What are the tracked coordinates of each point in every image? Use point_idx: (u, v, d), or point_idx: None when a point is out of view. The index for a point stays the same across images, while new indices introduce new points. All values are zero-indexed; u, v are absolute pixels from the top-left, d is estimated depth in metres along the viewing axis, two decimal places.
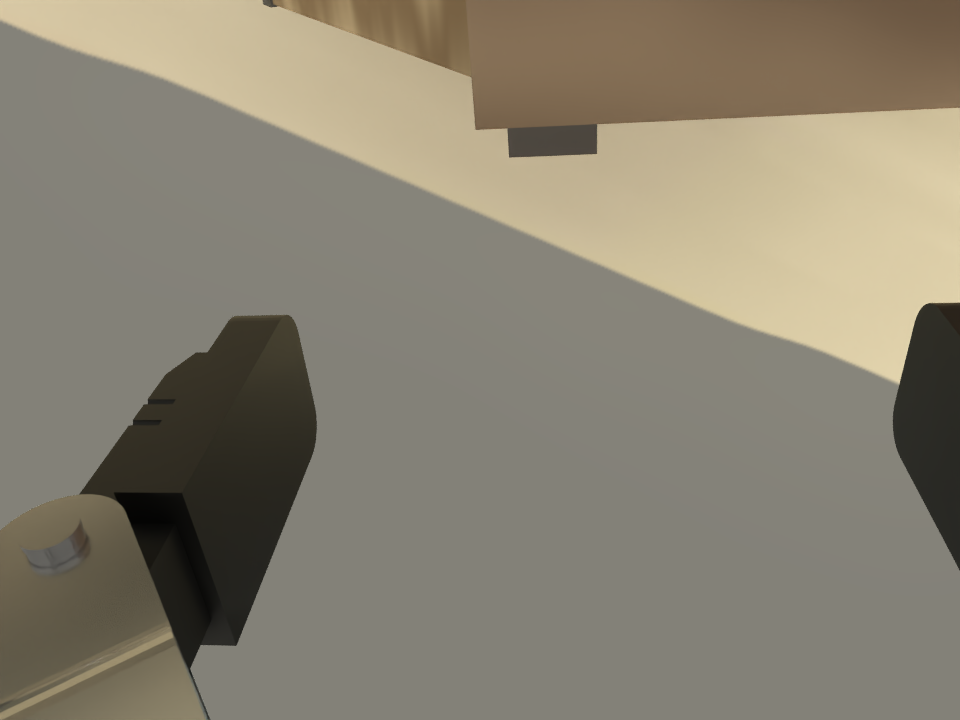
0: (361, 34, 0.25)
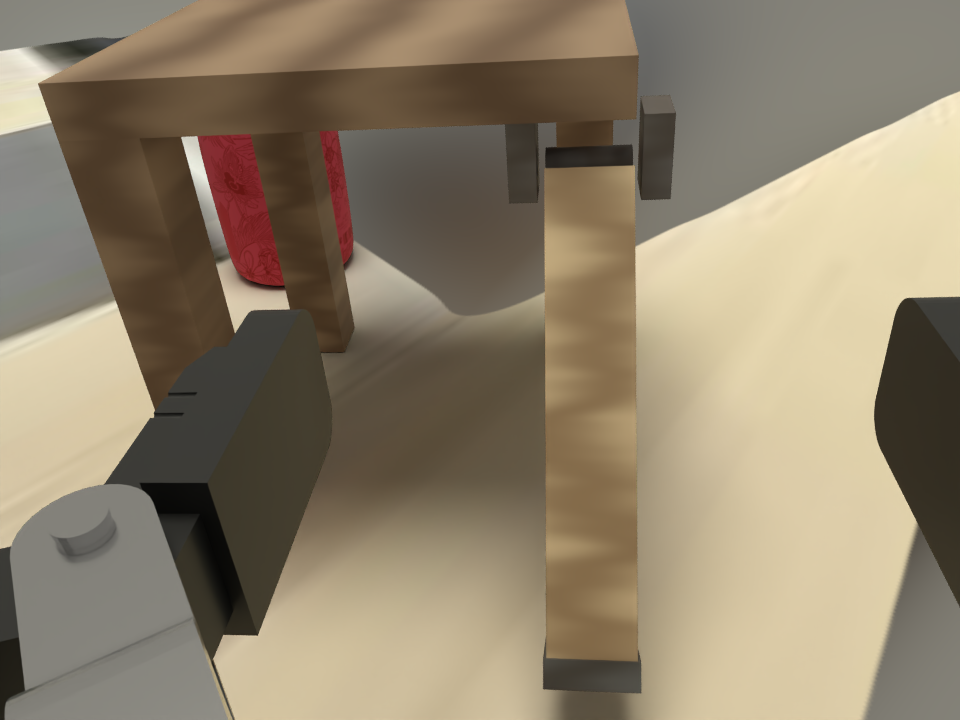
0: (633, 395, 0.27)
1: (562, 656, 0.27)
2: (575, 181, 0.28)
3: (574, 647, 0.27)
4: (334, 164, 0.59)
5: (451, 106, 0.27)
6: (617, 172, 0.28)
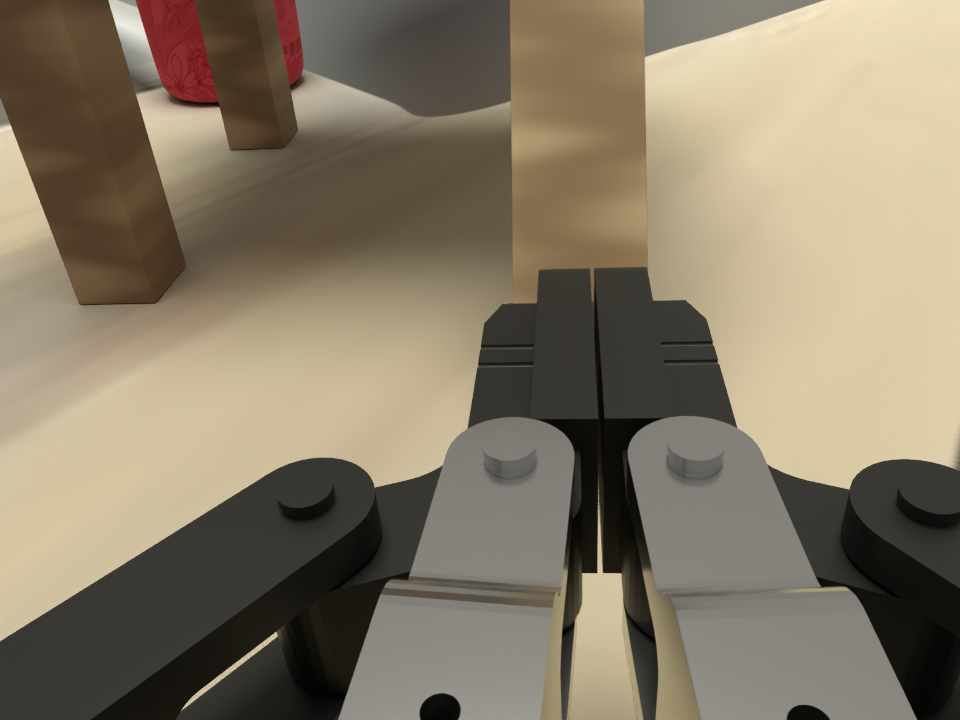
0: None
1: (536, 299, 0.19)
2: None
3: None
4: None
5: None
6: None
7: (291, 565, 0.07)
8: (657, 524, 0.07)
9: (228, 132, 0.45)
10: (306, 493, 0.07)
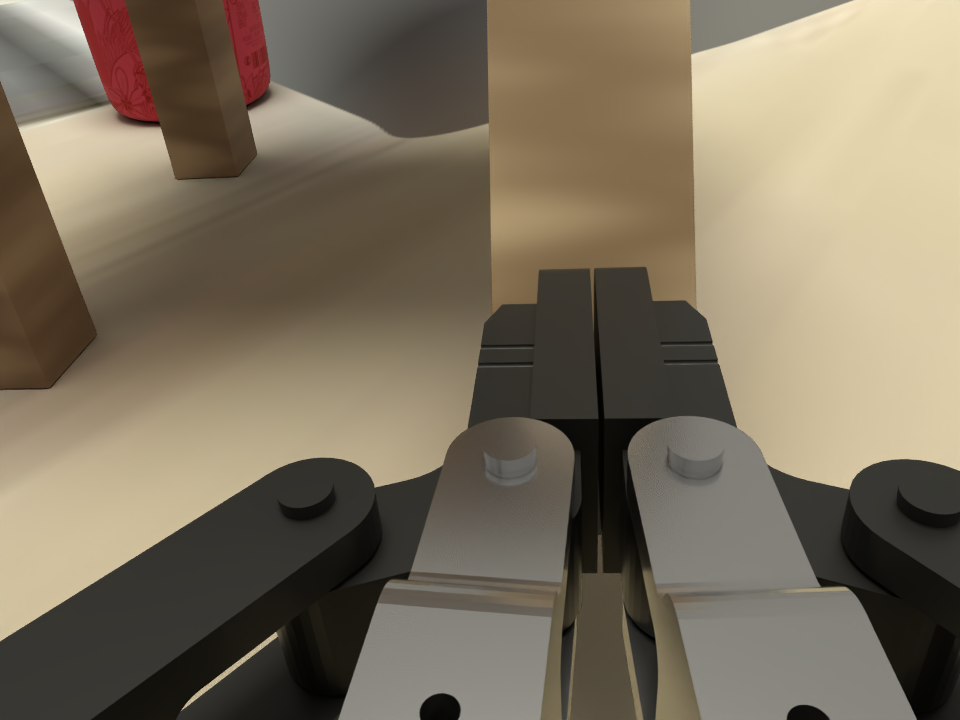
0: None
1: None
2: None
3: None
4: None
5: None
6: None
7: (291, 565, 0.07)
8: (657, 524, 0.07)
9: (173, 159, 0.38)
10: (305, 493, 0.07)
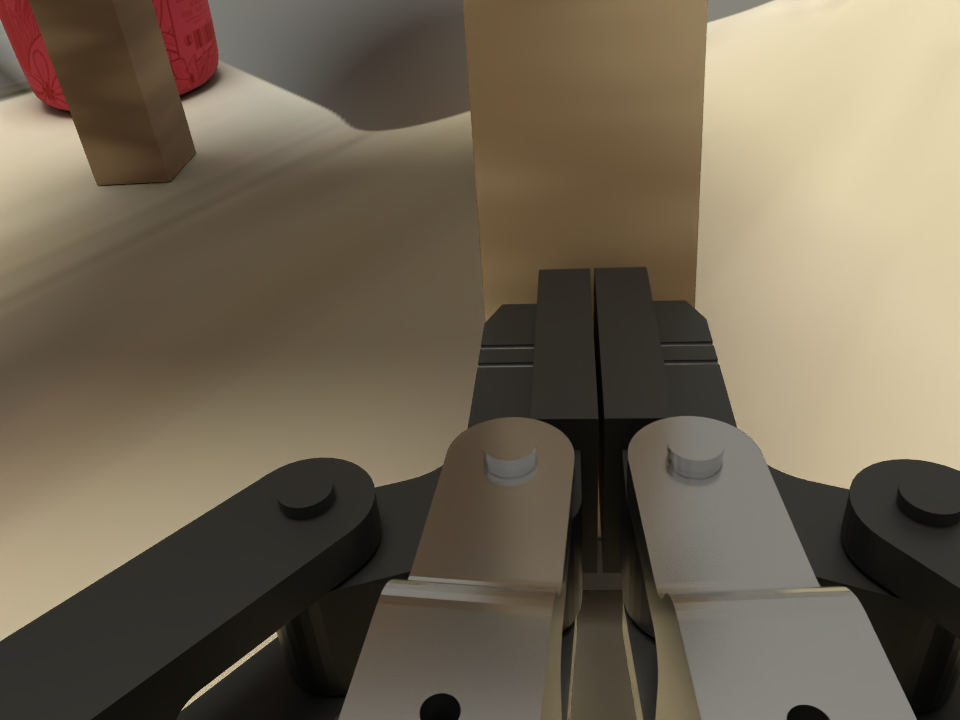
0: None
1: None
2: None
3: None
4: None
5: None
6: None
7: (291, 565, 0.07)
8: (657, 524, 0.07)
9: (92, 162, 0.32)
10: (305, 492, 0.07)
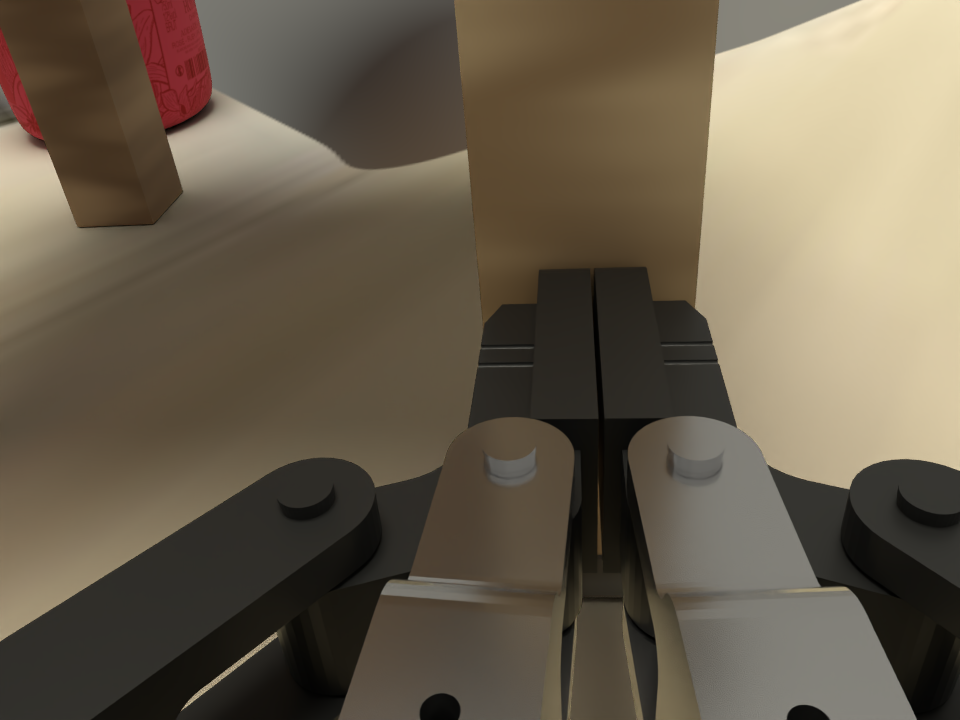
0: (709, 27, 0.10)
1: None
2: None
3: None
4: None
5: None
6: None
7: (292, 565, 0.07)
8: (657, 524, 0.07)
9: (72, 203, 0.31)
10: (305, 492, 0.07)
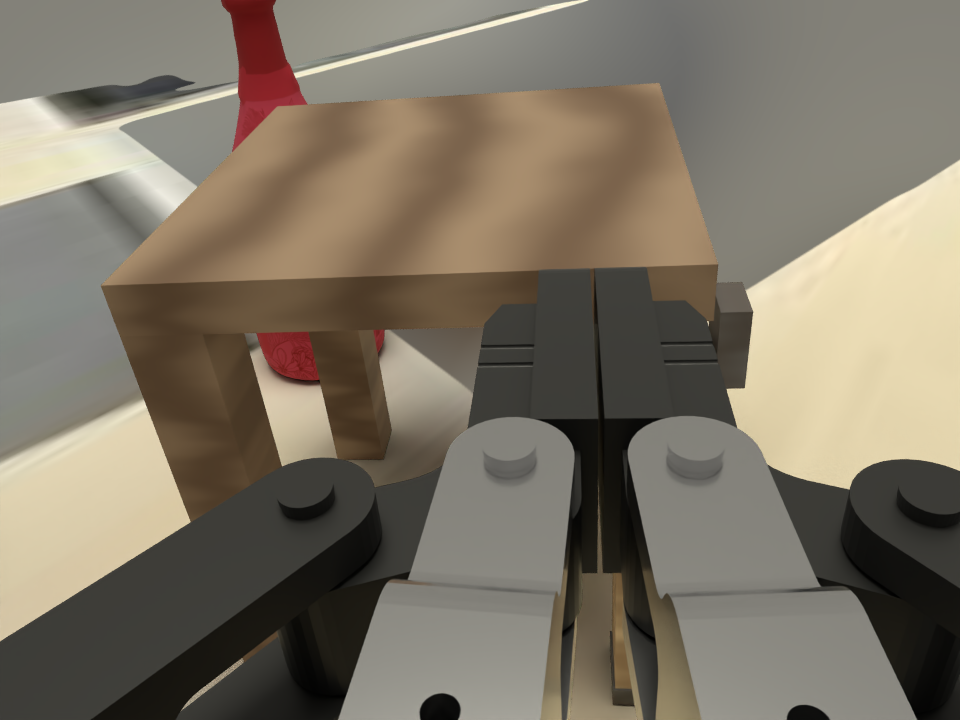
0: None
1: (627, 688, 0.37)
2: None
3: None
4: None
5: None
6: None
7: (291, 565, 0.07)
8: (657, 524, 0.07)
9: (337, 448, 0.53)
10: (306, 492, 0.07)
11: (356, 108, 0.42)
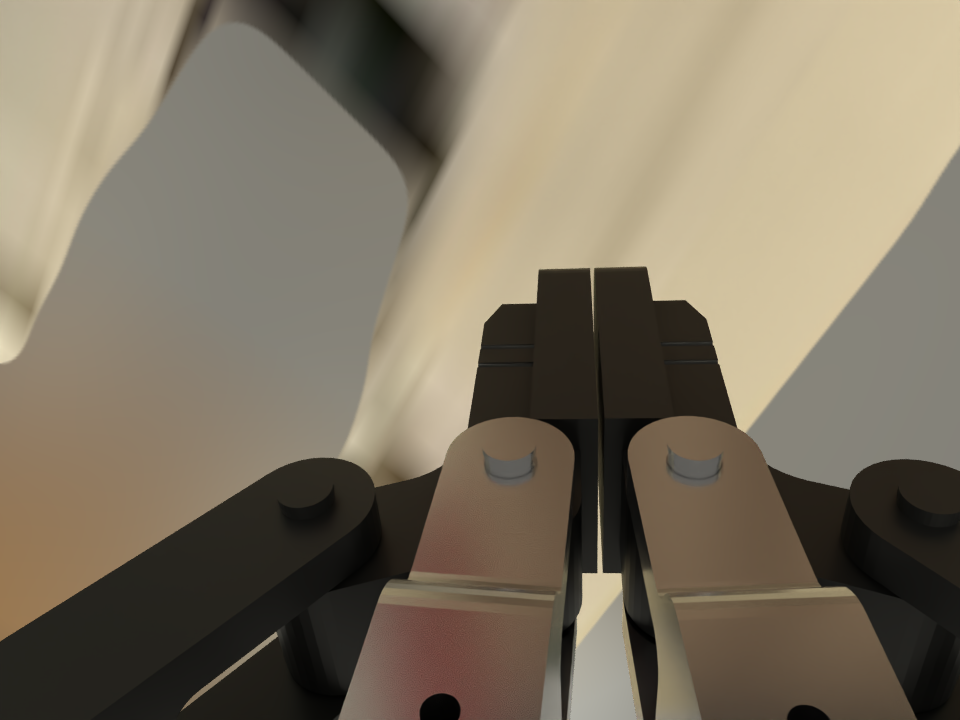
0: None
1: None
2: None
3: None
4: None
5: None
6: None
7: (291, 565, 0.07)
8: (657, 524, 0.07)
9: None
10: (306, 492, 0.07)
11: None
